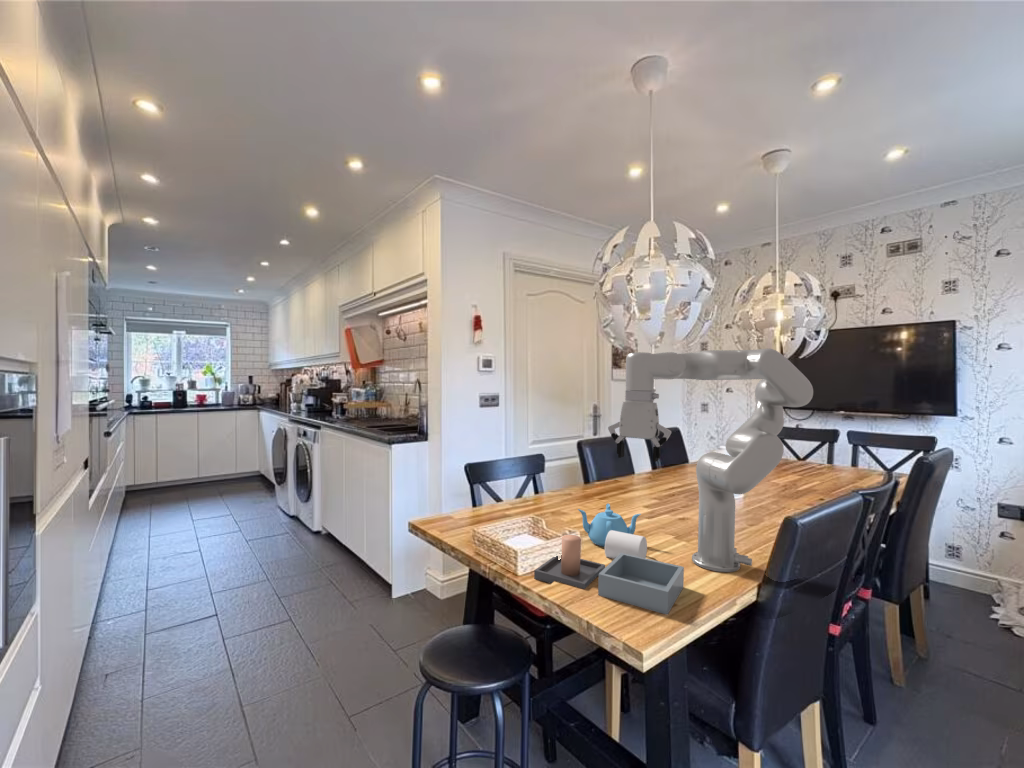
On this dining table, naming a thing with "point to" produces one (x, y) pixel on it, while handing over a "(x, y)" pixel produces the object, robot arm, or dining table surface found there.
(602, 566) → the tray
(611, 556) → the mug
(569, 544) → the cylinder
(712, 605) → the dining table surface
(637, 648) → the dining table surface
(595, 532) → the teapot
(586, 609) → the dining table surface
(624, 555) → the bin
